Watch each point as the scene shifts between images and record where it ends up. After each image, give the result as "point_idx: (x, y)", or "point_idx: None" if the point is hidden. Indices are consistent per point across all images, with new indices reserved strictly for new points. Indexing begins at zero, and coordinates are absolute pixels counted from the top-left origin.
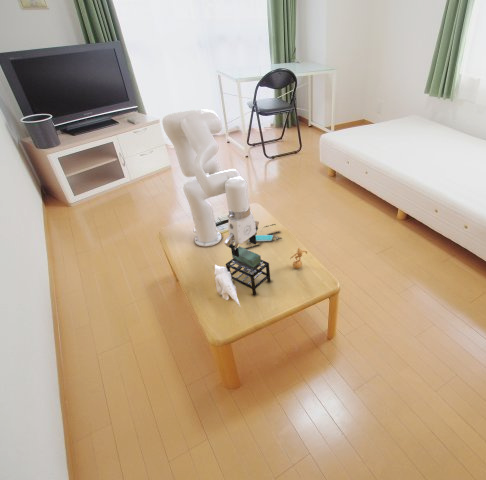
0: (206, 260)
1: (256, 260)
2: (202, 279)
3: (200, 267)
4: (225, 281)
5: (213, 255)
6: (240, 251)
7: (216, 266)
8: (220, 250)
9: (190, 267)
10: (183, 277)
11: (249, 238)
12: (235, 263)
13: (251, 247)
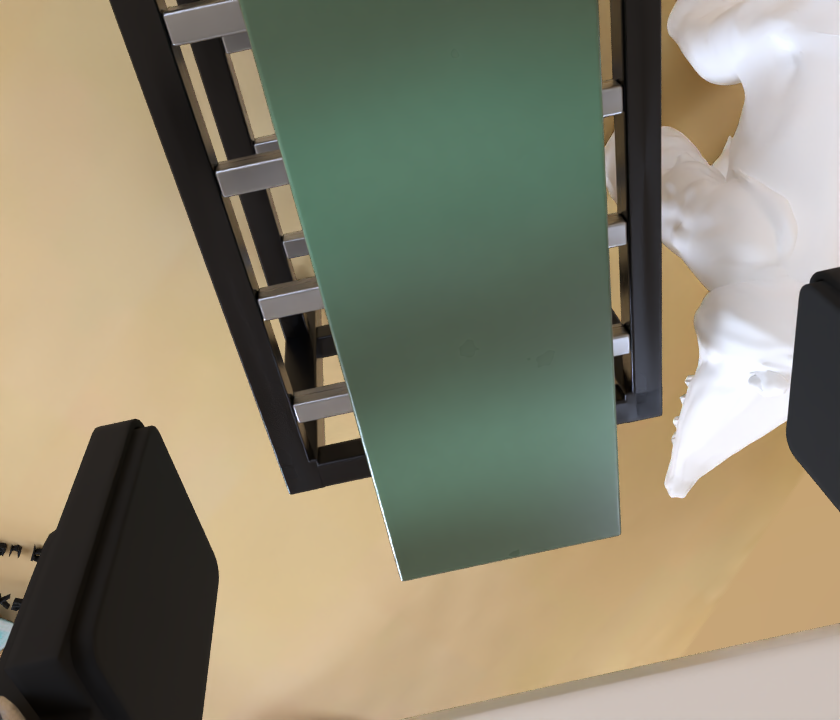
0: (490, 611)
1: None
2: None
3: (583, 570)
4: None
5: (406, 631)
6: (503, 452)
7: (710, 458)
8: (319, 651)
9: (632, 608)
10: (750, 546)
11: (201, 660)
12: None
13: (38, 549)
